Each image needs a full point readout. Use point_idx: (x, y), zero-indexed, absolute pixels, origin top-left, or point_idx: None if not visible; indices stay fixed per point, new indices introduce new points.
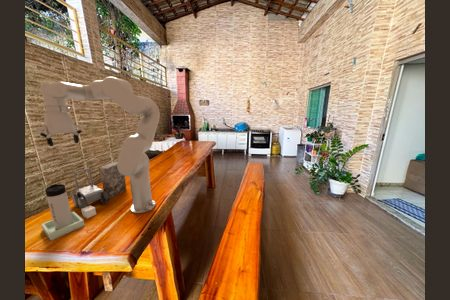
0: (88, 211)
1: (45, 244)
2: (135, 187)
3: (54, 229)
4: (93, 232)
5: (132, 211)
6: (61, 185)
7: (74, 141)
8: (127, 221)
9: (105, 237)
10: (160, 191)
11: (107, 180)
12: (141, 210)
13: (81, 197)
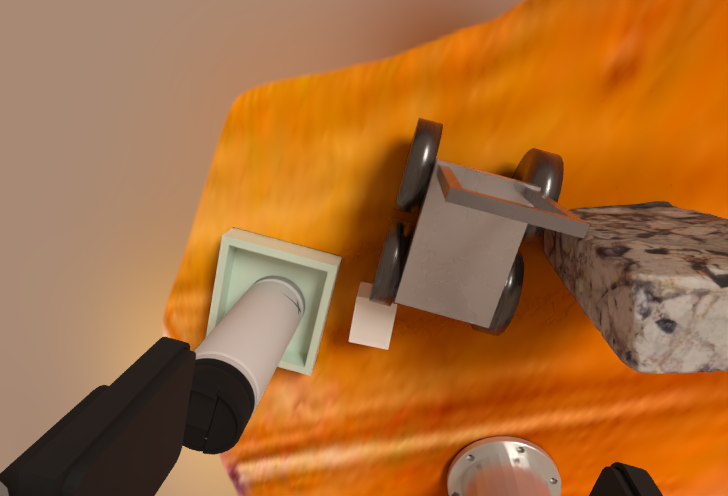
0: (358, 341)
1: (200, 335)
2: None
3: (249, 283)
4: (302, 427)
5: (448, 472)
6: (234, 412)
7: (614, 491)
8: (392, 488)
9: (300, 483)
10: (679, 464)
11: (584, 305)
12: None
13: (389, 274)
